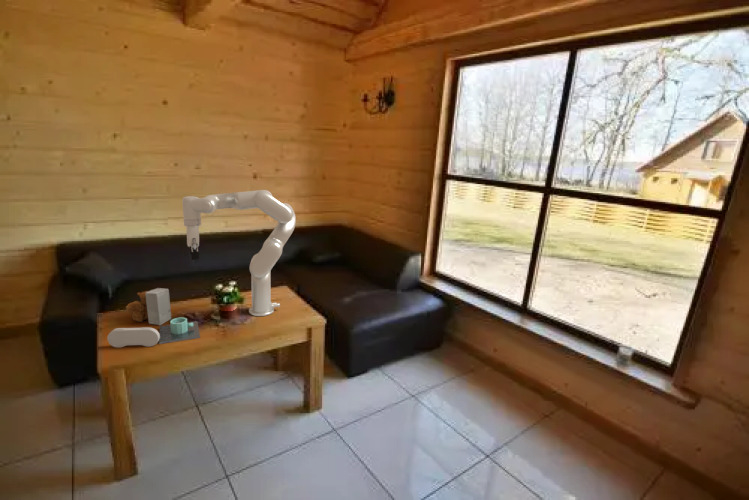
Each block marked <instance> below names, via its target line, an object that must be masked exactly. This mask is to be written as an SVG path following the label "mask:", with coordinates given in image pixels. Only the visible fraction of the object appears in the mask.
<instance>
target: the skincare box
mask: <svg viewBox="0 0 749 500" xmlns="http://www.w3.org/2000/svg"><path fill="white" fill-rule="evenodd" d="M148 291H149V292H146V293H145V295H146V303H147V312H148V319H147V321H148V324H150V325H156V326H163V324H165V323H166V322H169V321H171V320H172V309H171V301H170V290H169V288H161V287H157V288H154V289H150V290H148Z"/></svg>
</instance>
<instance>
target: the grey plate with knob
mask: <svg viewBox="0 0 749 500" xmlns="http://www.w3.org/2000/svg"><path fill="white" fill-rule="evenodd" d="M181 322H182V321H178V322H175V323H181ZM187 323H193V327H189V328H188V331H187V332H185V333H182V334H173V333H171V325H170V324H166V325H159V331H158V332H159V334H160V339H159V341H158V344H159V345H162V344H168V343H175V342H182V341H188V340H193V339H194V340H195V339H200V338H201V334H200V329H199V327H200V326H199V322H198V320H194V321H187Z"/></svg>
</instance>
